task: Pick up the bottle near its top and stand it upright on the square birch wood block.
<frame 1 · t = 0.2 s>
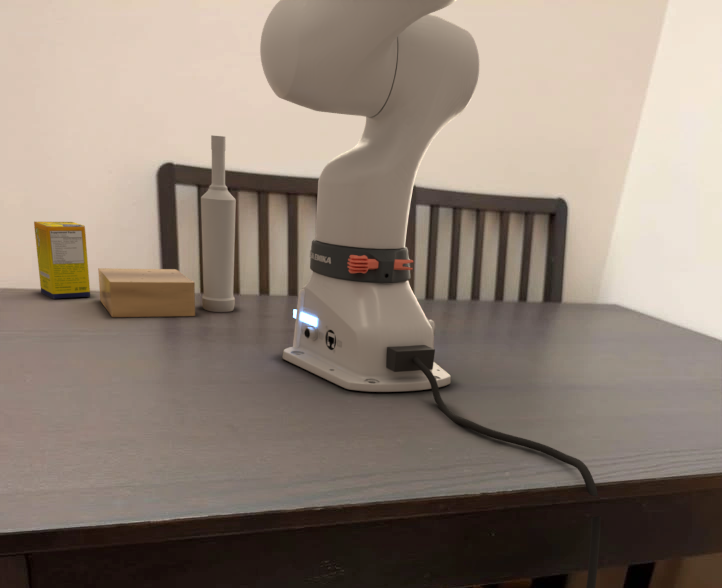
supplement box: (65, 296, 116), on the table
block: (146, 308, 112), on the table
bottle: (218, 310, 116), on the table
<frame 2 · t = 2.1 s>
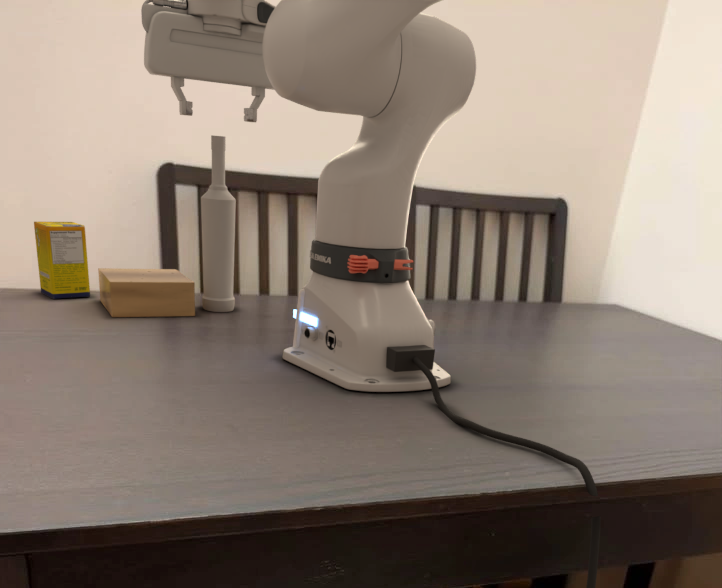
hand: (218, 118, 105), 27 cm above the table, tool pointing down, fingers open, 8 cm apart
nothing on the table moved.
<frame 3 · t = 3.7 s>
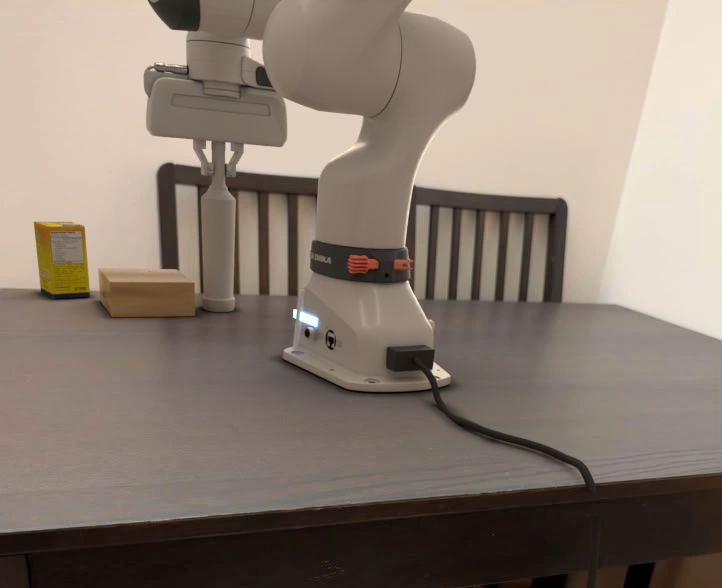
hand: (218, 176, 108), 20 cm above the table, tool pointing down, fingers closed on bottle, 2 cm apart
bottle: (218, 310, 116), on the table, touching gripper
everything else where it was.
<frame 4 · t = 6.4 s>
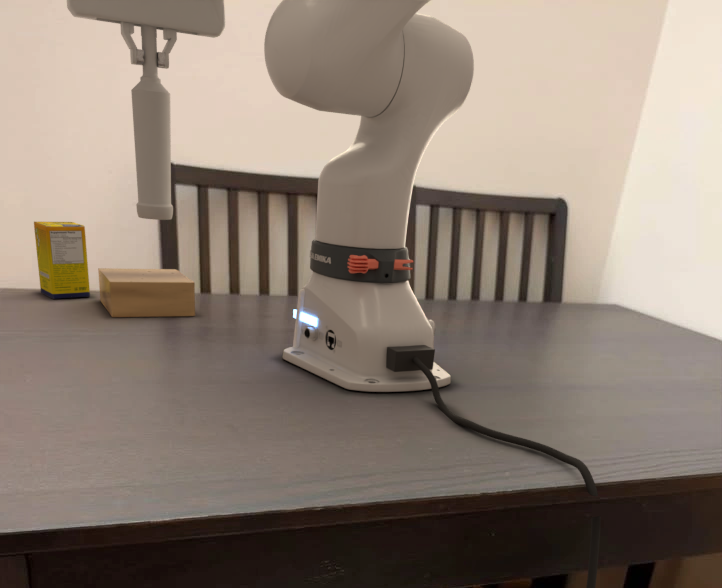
hand: (150, 66, 99), 33 cm above the table, tool pointing down, fingers closed on bottle
bottle: (155, 219, 107), point 13 cm above the table, touching gripper
everything else where it was.
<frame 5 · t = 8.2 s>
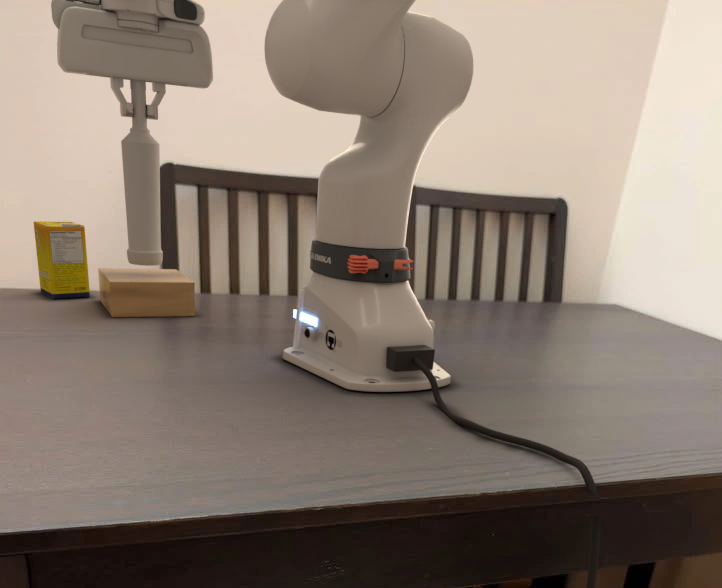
hand: (139, 118, 101), 26 cm above the table, tool pointing down, fingers closed on bottle, 2 cm apart
bottle: (145, 264, 109), point 7 cm above the table, touching gripper
everything else where it was.
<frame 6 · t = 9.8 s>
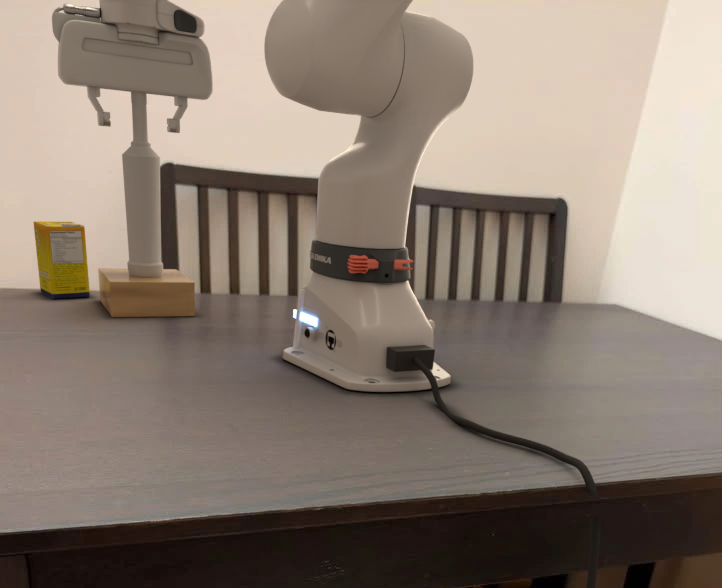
hand: (139, 129, 102), 25 cm above the table, tool pointing down, fingers open, 8 cm apart
bottle: (145, 276, 110), point 5 cm above the table, touching block
everything else where it was.
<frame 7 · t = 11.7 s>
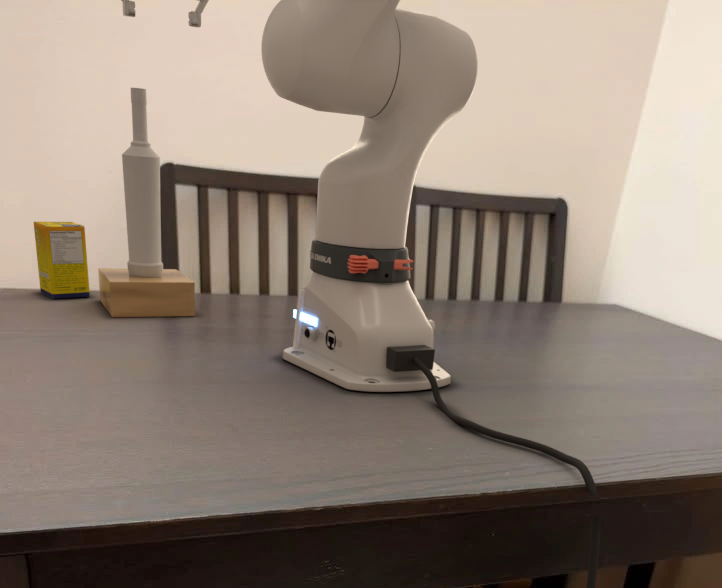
hand: (162, 21, 106), 40 cm above the table, tool pointing down, fingers open, 8 cm apart
nothing on the table moved.
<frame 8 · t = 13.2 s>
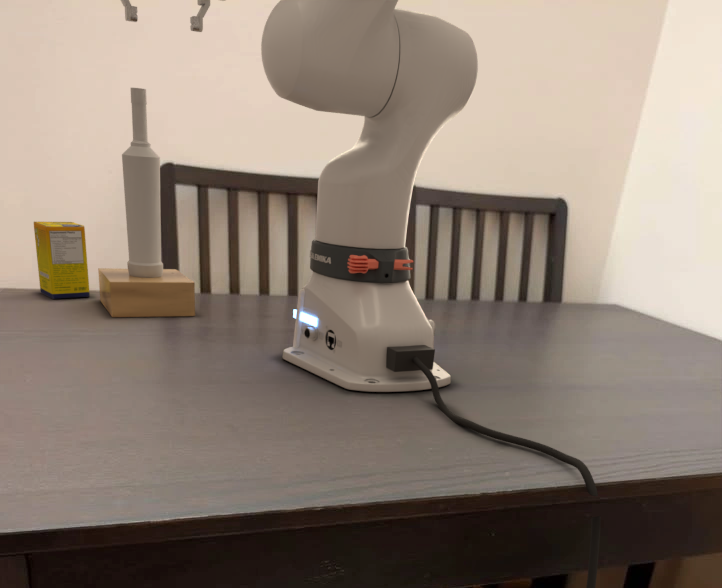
hand: (164, 26, 107), 39 cm above the table, tool pointing down, fingers open, 8 cm apart
nothing on the table moved.
at the end: bottle inside the target area on the block (0.1 cm from its centre), point 4.8 cm above the block's base; bottle tilted 0°; the gripper is holding nothing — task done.
